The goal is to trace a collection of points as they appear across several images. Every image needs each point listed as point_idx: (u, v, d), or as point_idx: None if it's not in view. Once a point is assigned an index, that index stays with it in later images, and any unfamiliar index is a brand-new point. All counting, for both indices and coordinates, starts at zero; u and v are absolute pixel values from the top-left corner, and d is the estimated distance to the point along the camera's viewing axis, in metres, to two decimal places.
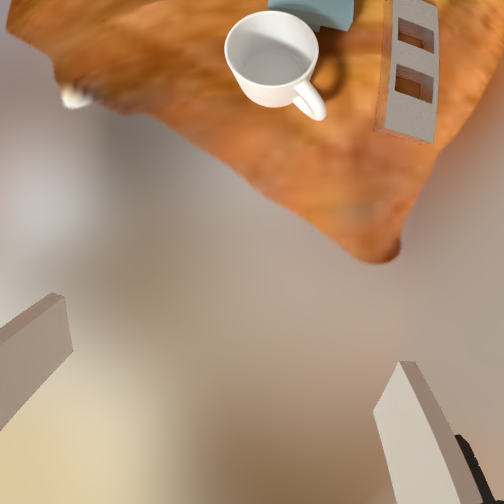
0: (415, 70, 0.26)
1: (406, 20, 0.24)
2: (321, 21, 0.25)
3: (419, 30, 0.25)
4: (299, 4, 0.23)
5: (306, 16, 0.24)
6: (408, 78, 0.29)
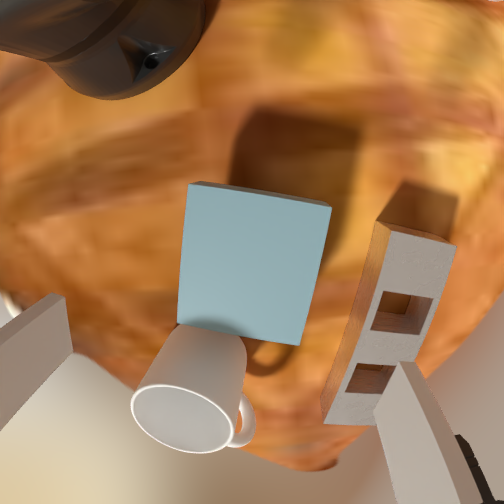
0: None
1: (395, 292, 0.22)
2: None
3: None
4: (221, 322, 0.21)
5: None
6: None
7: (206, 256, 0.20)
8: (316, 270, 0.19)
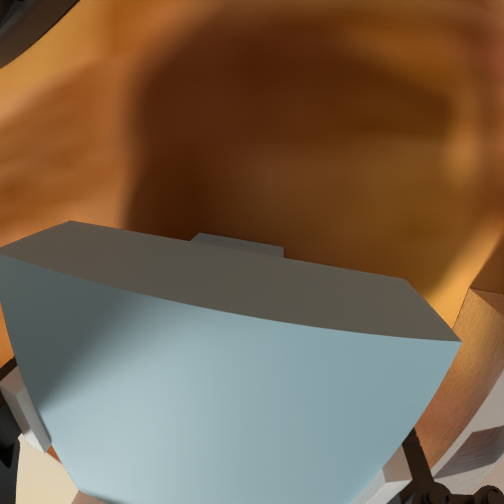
0: None
1: (488, 428, 0.08)
2: None
3: None
4: None
5: None
6: None
7: (80, 430, 0.06)
8: (369, 478, 0.05)
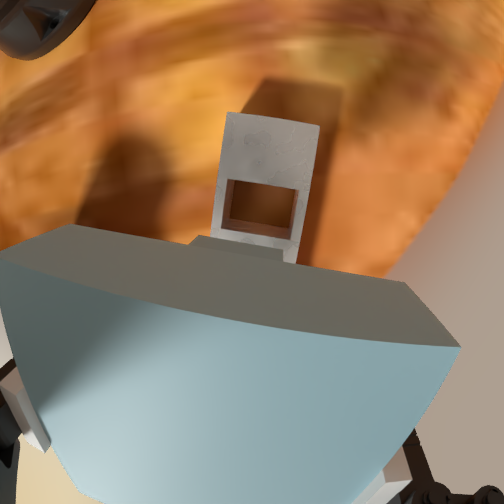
0: None
1: (242, 180, 0.20)
2: None
3: None
4: None
5: None
6: None
7: (80, 432, 0.06)
8: (368, 481, 0.05)
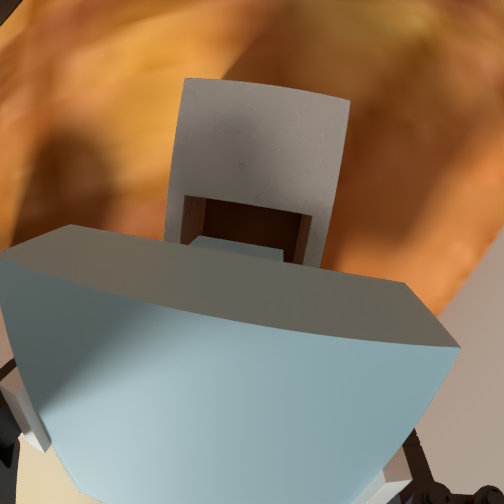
0: None
1: (210, 198, 0.11)
2: None
3: None
4: None
5: None
6: None
7: (80, 433, 0.06)
8: (367, 481, 0.05)
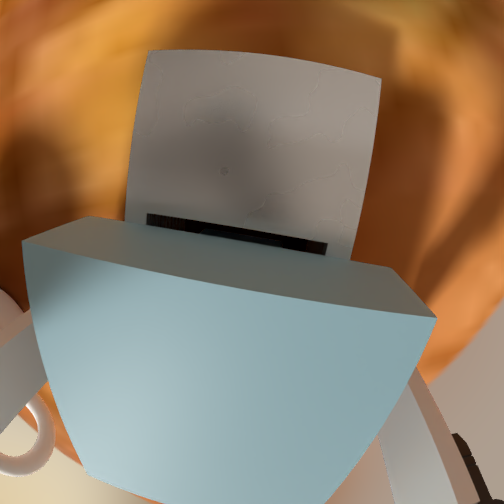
0: None
1: (182, 217, 0.08)
2: None
3: None
4: (158, 495, 0.08)
5: None
6: None
7: (96, 407, 0.07)
8: (361, 451, 0.06)
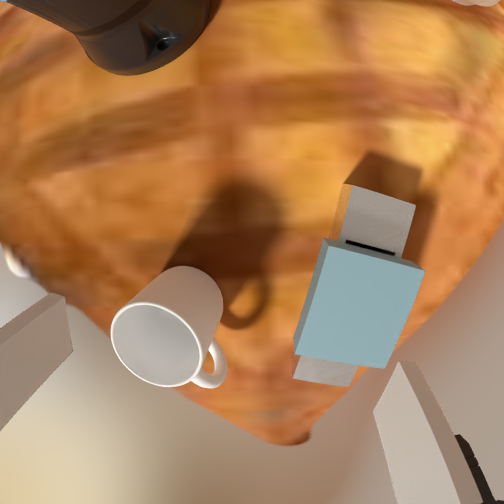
0: None
1: None
2: None
3: None
4: (332, 353, 0.25)
5: None
6: None
7: (332, 302, 0.24)
8: (407, 314, 0.24)
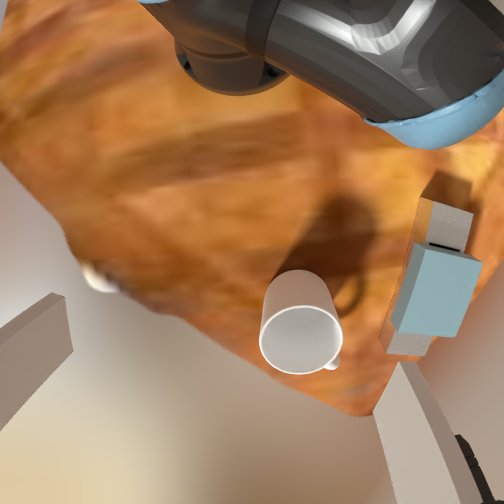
0: None
1: (436, 243, 0.30)
2: None
3: None
4: (422, 328, 0.30)
5: None
6: None
7: (425, 290, 0.29)
8: (471, 295, 0.29)
